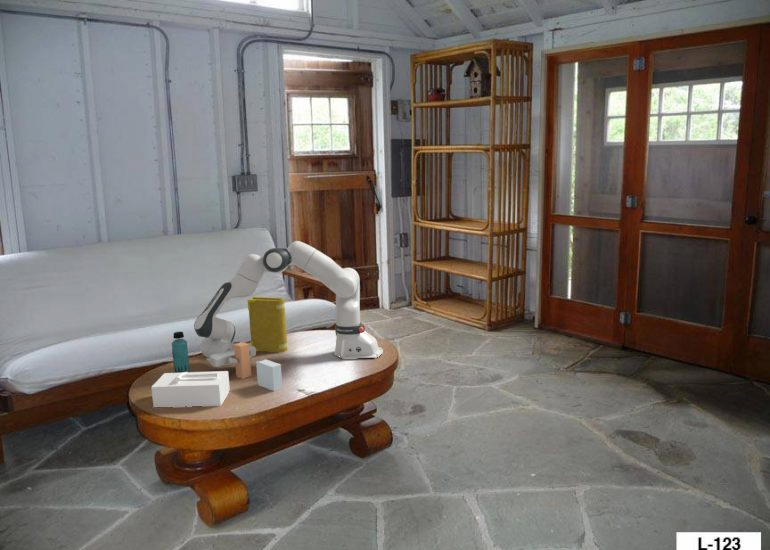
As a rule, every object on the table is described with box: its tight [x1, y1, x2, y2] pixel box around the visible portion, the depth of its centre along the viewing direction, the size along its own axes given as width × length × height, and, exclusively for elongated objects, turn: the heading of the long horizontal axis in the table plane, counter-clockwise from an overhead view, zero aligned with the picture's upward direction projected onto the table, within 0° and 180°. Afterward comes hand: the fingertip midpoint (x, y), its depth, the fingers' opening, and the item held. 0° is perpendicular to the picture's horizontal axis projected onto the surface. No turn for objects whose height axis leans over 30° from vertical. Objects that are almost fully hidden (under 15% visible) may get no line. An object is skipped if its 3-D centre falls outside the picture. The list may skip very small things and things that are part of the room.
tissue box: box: [150, 370, 231, 408], centre depth 235 cm, size 14×25×11 cm, turn 91°
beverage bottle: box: [171, 331, 191, 373], centre depth 257 cm, size 6×7×20 cm
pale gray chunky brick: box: [255, 358, 283, 392], centre depth 245 cm, size 11×4×10 cm, turn 47°
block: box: [234, 341, 252, 380], centre depth 257 cm, size 5×4×14 cm
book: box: [247, 296, 289, 353], centre depth 290 cm, size 17×7×25 cm, turn 73°
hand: (243, 359), depth 257 cm, fingers closed on block, 4 cm apart
